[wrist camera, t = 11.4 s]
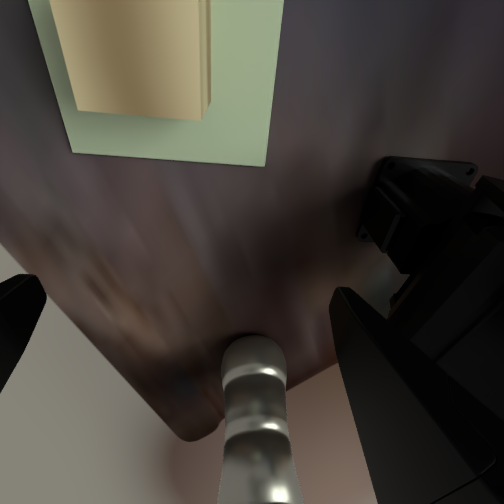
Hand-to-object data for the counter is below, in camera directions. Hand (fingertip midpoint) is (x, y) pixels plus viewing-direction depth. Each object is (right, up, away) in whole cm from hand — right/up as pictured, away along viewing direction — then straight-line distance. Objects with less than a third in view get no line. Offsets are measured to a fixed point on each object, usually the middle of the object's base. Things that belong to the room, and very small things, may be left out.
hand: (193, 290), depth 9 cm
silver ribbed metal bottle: (+2, -9, +22) cm, 24 cm away
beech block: (-3, +12, +5) cm, 13 cm away
